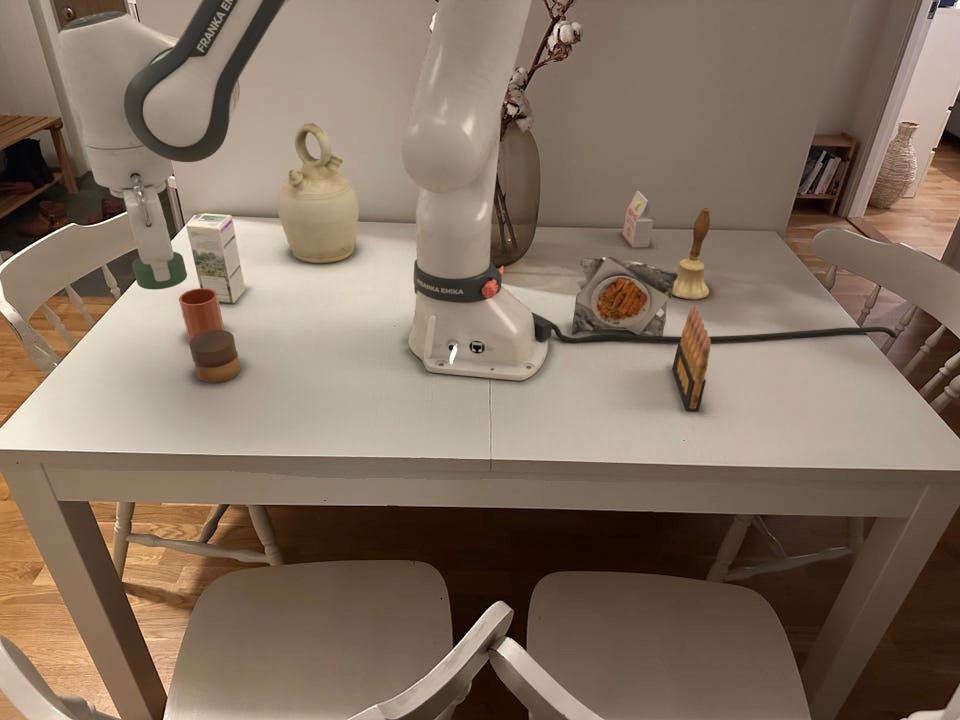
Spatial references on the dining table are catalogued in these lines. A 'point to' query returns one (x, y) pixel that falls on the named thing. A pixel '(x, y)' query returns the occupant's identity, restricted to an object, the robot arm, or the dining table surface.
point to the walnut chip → (213, 348)
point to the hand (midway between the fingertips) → (159, 266)
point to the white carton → (638, 222)
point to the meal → (622, 296)
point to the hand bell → (693, 264)
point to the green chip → (147, 276)
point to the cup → (201, 311)
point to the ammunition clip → (692, 361)
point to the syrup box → (216, 255)
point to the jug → (318, 204)
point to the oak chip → (219, 371)
